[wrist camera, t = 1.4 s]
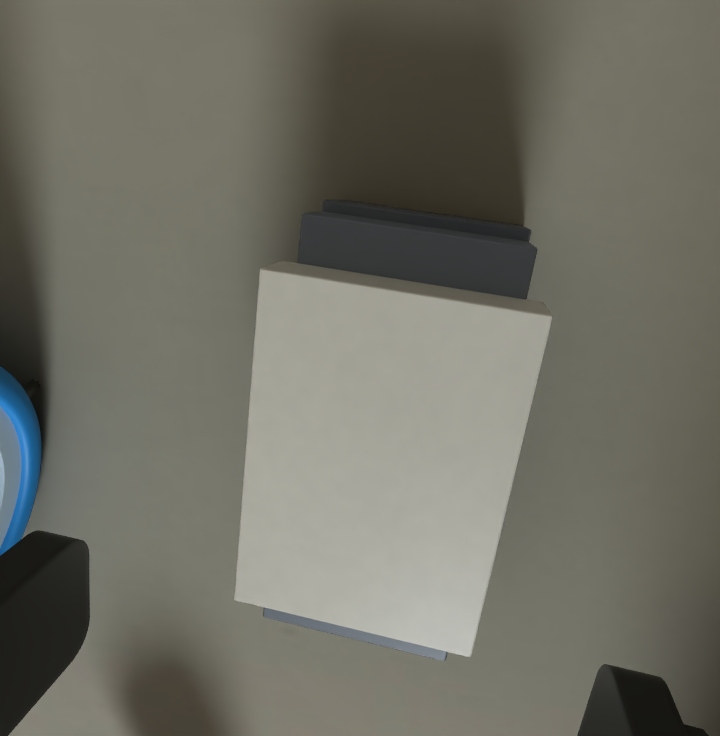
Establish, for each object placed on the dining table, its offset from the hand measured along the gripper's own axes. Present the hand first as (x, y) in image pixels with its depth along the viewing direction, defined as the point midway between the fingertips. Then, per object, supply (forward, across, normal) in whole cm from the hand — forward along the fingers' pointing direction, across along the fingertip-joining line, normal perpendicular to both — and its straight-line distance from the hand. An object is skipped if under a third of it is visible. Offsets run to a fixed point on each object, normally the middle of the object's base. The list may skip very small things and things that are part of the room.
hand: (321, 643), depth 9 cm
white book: (+7, 0, 0) cm, 7 cm away
